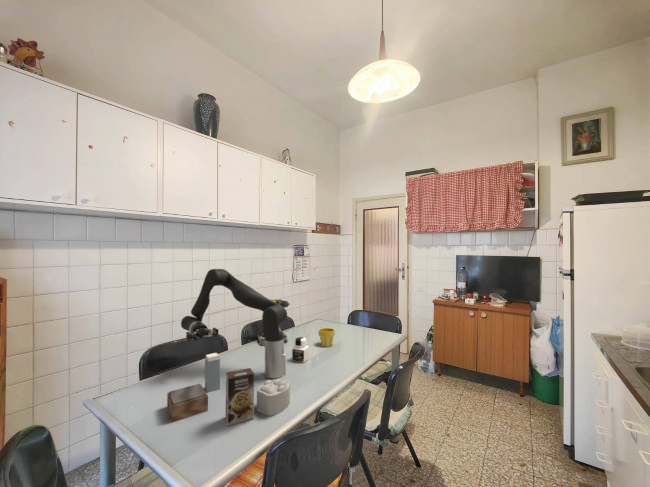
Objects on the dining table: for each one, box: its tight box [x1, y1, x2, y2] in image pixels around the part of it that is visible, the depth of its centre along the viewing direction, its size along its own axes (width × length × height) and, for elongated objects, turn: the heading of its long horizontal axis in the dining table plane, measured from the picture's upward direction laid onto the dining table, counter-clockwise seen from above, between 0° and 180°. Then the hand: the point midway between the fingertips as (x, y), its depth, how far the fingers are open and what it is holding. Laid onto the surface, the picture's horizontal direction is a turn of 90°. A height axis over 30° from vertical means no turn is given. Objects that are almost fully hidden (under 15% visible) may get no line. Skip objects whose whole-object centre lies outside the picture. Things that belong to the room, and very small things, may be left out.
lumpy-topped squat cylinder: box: [256, 378, 291, 417], centre depth 109 cm, size 10×13×9 cm
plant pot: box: [318, 327, 336, 347], centre depth 179 cm, size 10×10×10 cm
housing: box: [204, 352, 221, 393], centre depth 123 cm, size 5×5×14 cm
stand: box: [166, 383, 209, 423], centre depth 107 cm, size 12×12×6 cm
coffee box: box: [225, 367, 255, 426], centre depth 101 cm, size 9×6×16 cm
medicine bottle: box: [291, 336, 310, 364], centre depth 155 cm, size 7×7×12 cm
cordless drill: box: [257, 299, 291, 347], centre depth 189 cm, size 18×19×28 cm
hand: (206, 337), depth 132 cm, fingers open, 8 cm apart
